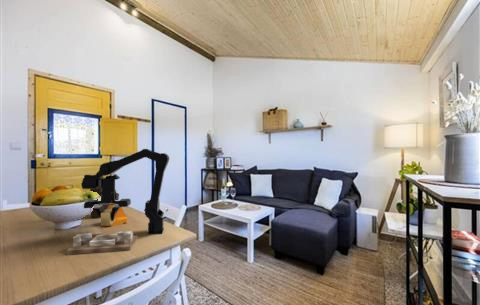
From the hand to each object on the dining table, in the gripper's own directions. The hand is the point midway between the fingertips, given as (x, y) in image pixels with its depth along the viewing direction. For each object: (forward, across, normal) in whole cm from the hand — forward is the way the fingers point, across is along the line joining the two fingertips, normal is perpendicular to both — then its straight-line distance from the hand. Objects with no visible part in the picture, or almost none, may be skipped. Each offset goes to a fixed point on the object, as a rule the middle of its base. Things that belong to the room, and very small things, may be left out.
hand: (108, 221), depth 105 cm
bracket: (+7, +2, -16) cm, 17 cm away
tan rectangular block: (+1, 0, 0) cm, 1 cm away
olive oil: (+7, +16, -32) cm, 36 cm away
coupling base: (+6, -4, +13) cm, 15 cm away
